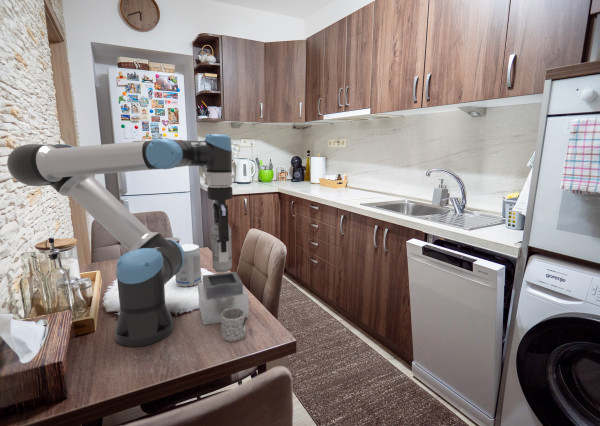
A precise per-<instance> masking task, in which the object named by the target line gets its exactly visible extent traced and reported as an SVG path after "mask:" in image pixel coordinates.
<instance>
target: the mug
mask: <svg viewBox="0 0 600 426" xmlns="http://www.w3.org/2000/svg"><path fill="white" fill-rule="evenodd" d="M220 323H221V325H220V326H221V338H222V339H223V340H224V341H225V342H237V341H240V340H242V339H243V338H245V336H246V318H245V312H244V310H242V309H239V308H231V309H224V311H223V312H222V313H221V322H220Z"/></svg>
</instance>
